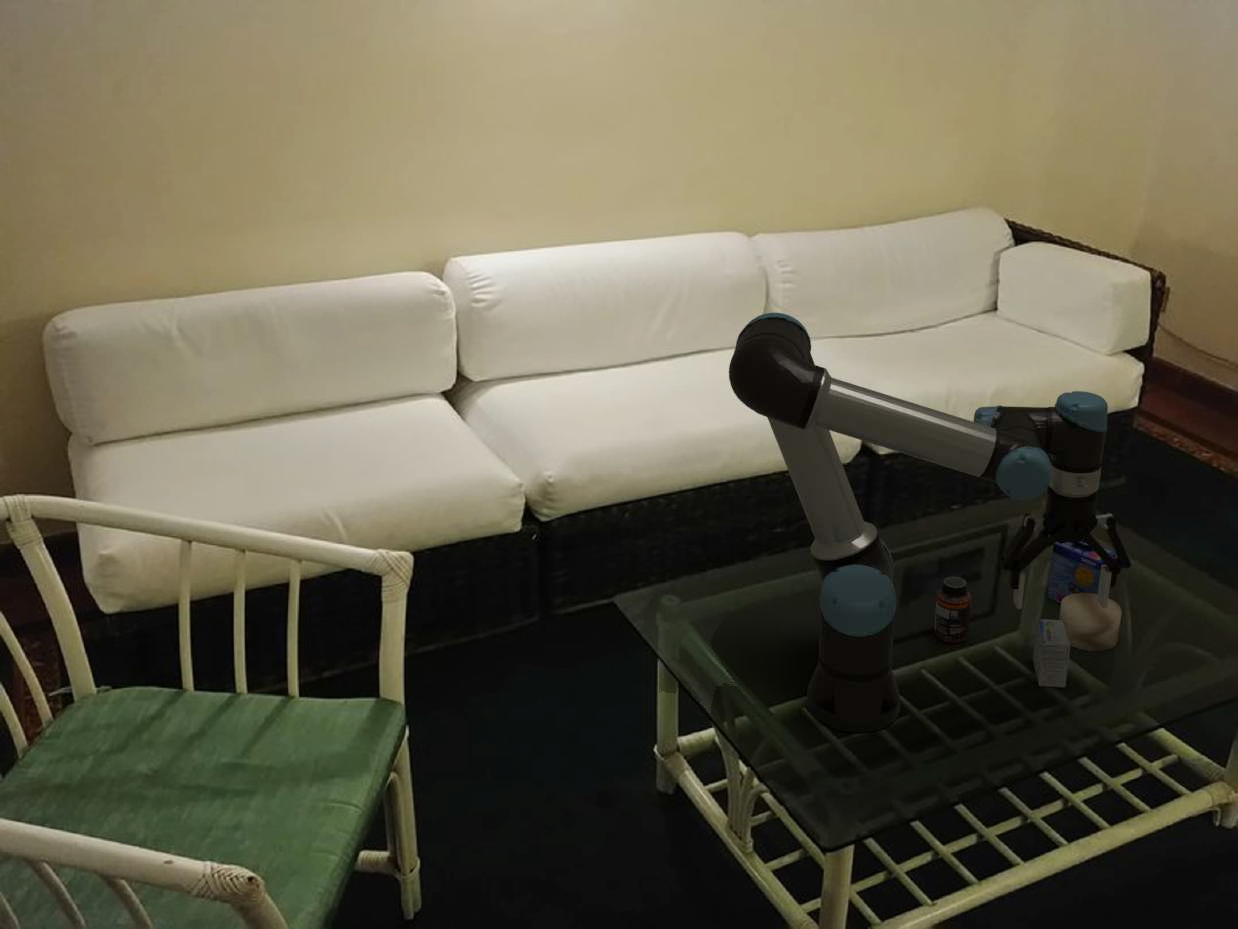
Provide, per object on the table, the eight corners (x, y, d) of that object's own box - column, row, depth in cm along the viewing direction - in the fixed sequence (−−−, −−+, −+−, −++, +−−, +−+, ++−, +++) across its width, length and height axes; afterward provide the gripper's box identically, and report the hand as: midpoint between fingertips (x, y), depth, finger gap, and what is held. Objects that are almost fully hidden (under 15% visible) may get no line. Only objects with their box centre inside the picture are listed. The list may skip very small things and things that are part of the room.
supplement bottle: (955, 624, 208) (960, 570, 204) (974, 640, 203) (980, 586, 199) (927, 630, 207) (931, 577, 202) (945, 647, 202) (950, 592, 197)
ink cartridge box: (1044, 598, 215) (1053, 530, 209) (1061, 588, 218) (1070, 521, 212) (1092, 619, 208) (1102, 549, 202) (1108, 608, 211) (1119, 539, 205)
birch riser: (1066, 651, 199) (1070, 622, 197) (1050, 621, 208) (1054, 593, 206) (1125, 651, 198) (1129, 622, 196) (1106, 621, 207) (1111, 592, 205)
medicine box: (1065, 689, 189) (1071, 645, 186) (1037, 687, 190) (1043, 643, 186) (1058, 662, 196) (1064, 619, 193) (1031, 660, 197) (1036, 617, 193)
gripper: (997, 500, 176) (987, 617, 185) (1163, 497, 174) (1145, 615, 183) (986, 480, 183) (977, 593, 192) (1146, 476, 181) (1129, 591, 190)
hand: (1059, 604), depth 187 cm, fingers open, 13 cm apart
